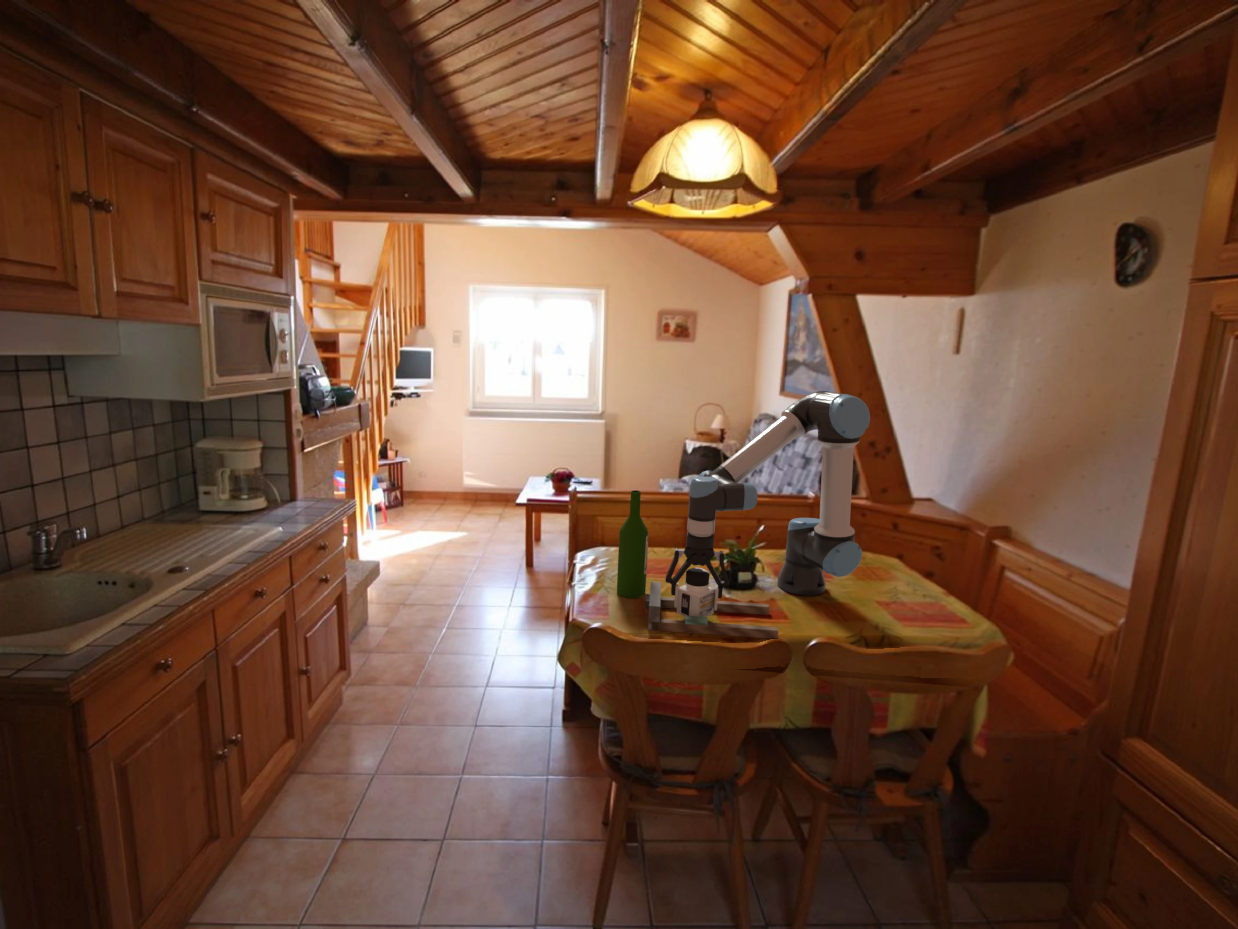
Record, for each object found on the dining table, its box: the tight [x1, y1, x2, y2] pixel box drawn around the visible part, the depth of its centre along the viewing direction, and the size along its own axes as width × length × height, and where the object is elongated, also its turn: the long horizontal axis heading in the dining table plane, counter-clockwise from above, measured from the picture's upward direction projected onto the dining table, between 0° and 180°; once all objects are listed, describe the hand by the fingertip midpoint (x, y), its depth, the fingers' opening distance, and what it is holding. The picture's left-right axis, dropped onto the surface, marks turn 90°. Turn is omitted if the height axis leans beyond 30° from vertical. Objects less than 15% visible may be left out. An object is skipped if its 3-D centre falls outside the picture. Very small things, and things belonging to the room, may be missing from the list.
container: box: [676, 567, 715, 618], centre depth 178 cm, size 8×8×13 cm
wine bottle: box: [616, 490, 649, 599], centre depth 193 cm, size 9×9×32 cm
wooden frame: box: [644, 581, 779, 640], centre depth 179 cm, size 36×17×7 cm, turn 86°
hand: (695, 607), depth 179 cm, fingers closed on container, 10 cm apart
